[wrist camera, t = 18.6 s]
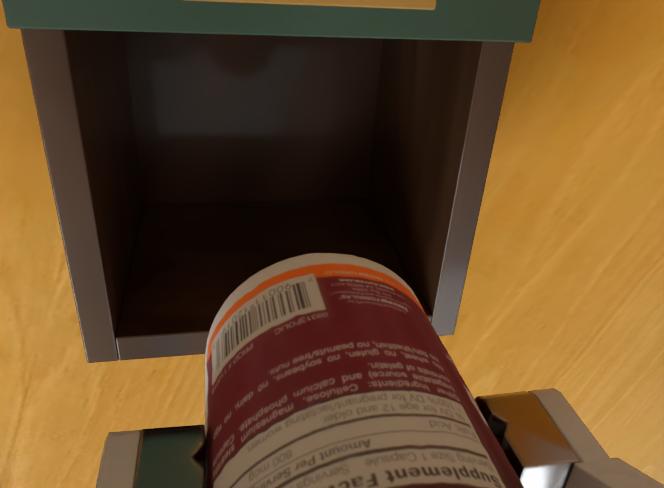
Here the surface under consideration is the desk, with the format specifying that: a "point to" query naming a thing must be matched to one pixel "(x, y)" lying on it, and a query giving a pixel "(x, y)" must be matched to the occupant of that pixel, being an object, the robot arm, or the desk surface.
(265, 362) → the pill bottle
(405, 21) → the lid
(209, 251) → the box
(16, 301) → the desk surface
